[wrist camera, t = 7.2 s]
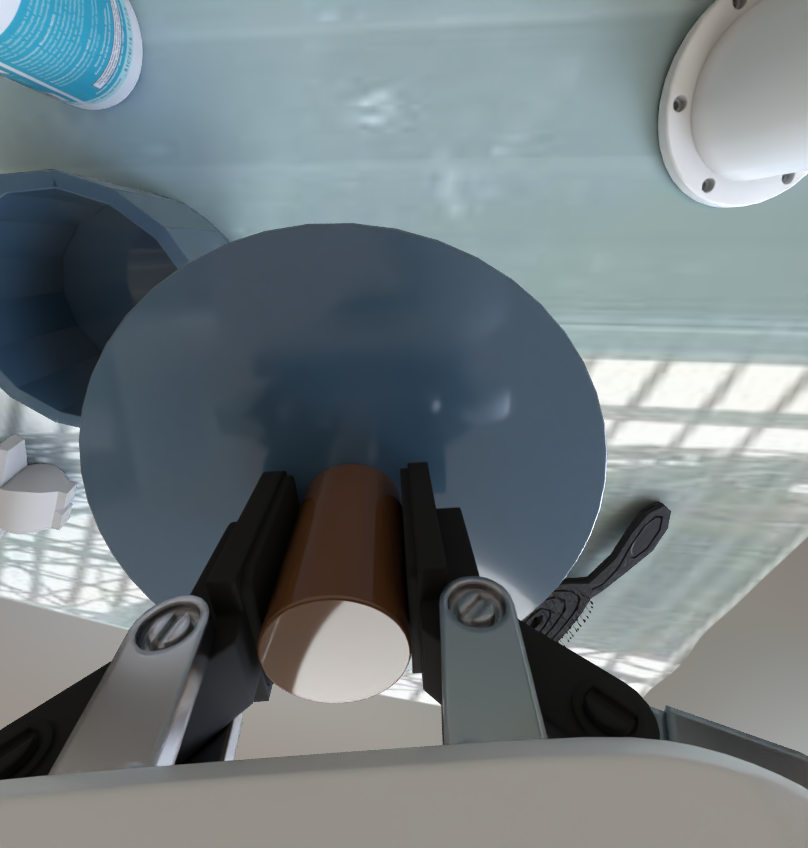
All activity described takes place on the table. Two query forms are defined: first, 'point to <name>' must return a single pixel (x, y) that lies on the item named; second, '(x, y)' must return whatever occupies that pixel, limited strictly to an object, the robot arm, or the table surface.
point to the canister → (79, 276)
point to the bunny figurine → (31, 492)
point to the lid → (341, 434)
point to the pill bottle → (72, 49)
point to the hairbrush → (600, 574)
